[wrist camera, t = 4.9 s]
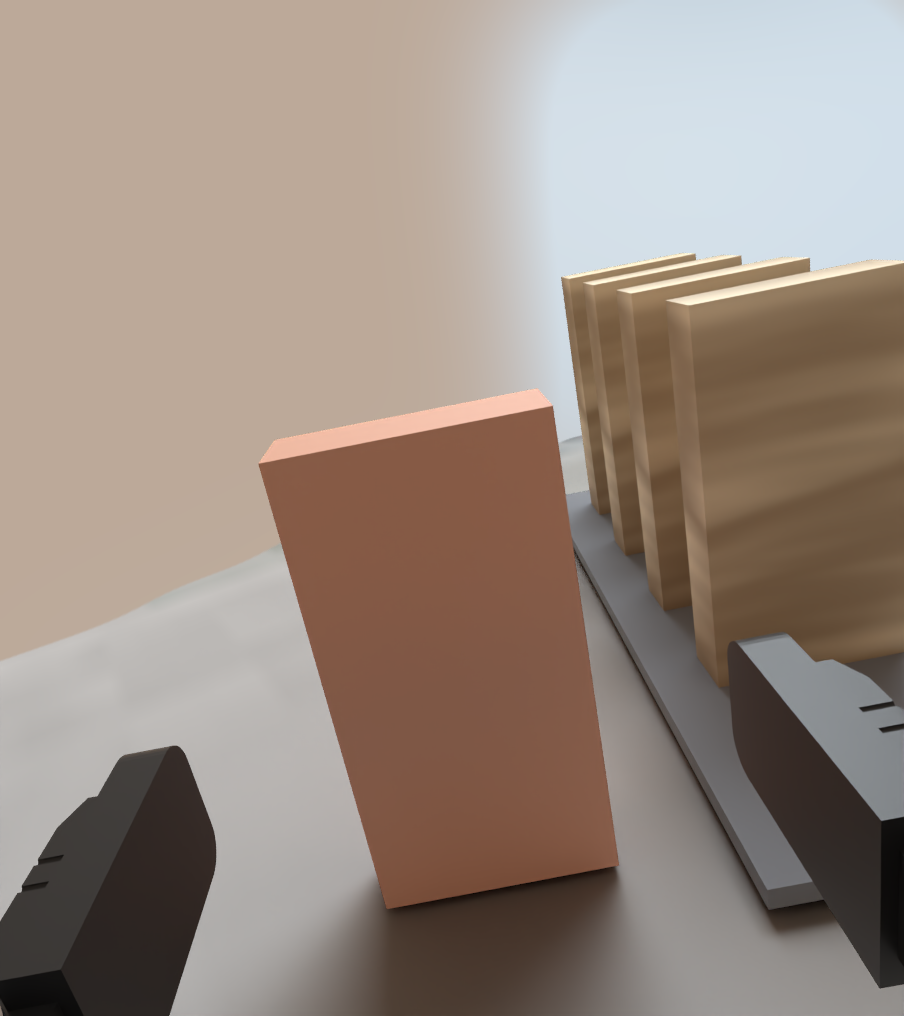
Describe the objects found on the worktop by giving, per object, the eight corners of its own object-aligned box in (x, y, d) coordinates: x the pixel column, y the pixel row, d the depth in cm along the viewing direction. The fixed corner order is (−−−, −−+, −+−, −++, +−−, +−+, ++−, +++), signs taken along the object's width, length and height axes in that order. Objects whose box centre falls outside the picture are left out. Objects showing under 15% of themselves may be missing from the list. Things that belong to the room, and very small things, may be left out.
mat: (1188, 831, 14) (1192, 810, 14) (768, 909, 14) (767, 889, 14) (716, 475, 36) (715, 465, 36) (551, 507, 36) (550, 497, 36)
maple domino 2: (756, 530, 28) (741, 255, 25) (625, 555, 28) (593, 285, 25) (738, 516, 30) (722, 255, 26) (614, 540, 30) (582, 282, 26)
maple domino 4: (904, 651, 20) (912, 261, 16) (718, 687, 20) (689, 305, 17) (870, 623, 21) (870, 259, 18) (696, 656, 21) (665, 300, 18)
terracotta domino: (618, 865, 16) (552, 405, 12) (386, 909, 16) (258, 463, 13) (600, 811, 17) (537, 388, 14) (389, 851, 17) (274, 440, 14)
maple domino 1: (712, 492, 33) (695, 253, 29) (599, 514, 33) (569, 278, 29) (699, 481, 34) (681, 253, 31) (591, 502, 34) (561, 277, 31)
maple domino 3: (817, 581, 24) (809, 257, 21) (663, 611, 24) (631, 293, 21) (793, 561, 26) (782, 257, 22) (648, 589, 26) (616, 290, 22)
